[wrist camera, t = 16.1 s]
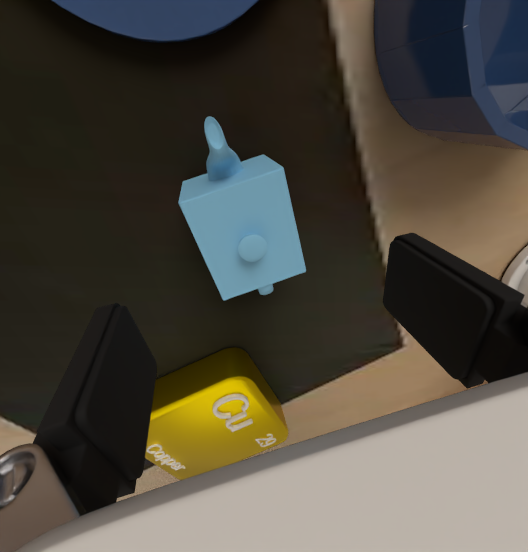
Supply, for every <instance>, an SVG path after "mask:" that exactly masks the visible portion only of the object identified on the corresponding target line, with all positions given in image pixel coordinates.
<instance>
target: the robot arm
mask: <svg viewBox="0 0 528 552" xmlns="http://www.w3.org/2000/svg"><path fill="white" fill-rule="evenodd" d="M383 303H384V306H385V308H386V309H387V310H388V311H389V312H390V314H391V315H392V316H393V317H394V318H395V319H396V320H397V321H398V322H399V323H400V324H401V325H402V326H403V327H404V328H405V329H406V330H407V331H408V332H409V333H410V334H411V335H412V336H413V337H414V338H415V339H416V340H417V341H418V343H419V344H420V345H421V346H422V347H423V348H424V349H425V350H426V351H427V352H428V353H429V354H430V355H431V356H432V357H433V358H434V359H435V360H436V361H437V362H438V363H439V364H440V365H441V366H442V367H443V368H444V369H445V370H446V372H447V373H448V374H449V375H450V376H452V377H453V378H454V379H458V380H459V381H460V382H461V383H462V384H463V385H464V386H465V387H466V388H470V387H473V386H476V385H479V384H483V382H484V380H486V381H487V382H488V384H485V385H482V386H479V387H475V388H472V389H469V390H466V391H462V392H459V393H456V394H453V395H449V396H446V397H443V398H440V399H436V400H433V401H430V402H427V403H423V404H420V405H417V406H414V407H410V408H407V409H404V410H401V411H398V412H394V413H391V414H388V415H385V416H382V417H378V418H375V419H372V420H369V421H366V422H362V423H359V424H356V425H353V426H350V427H346V428H343V429H340V430H337V431H334V432H331V433H327V434H324V435H321V436H318V437H315V438H312V439H308V440H305V441H302V442H299V443H296V444H292V445H289V446H286V447H283V448H280V449H277V450H274V451H271V452H267V453H264V454H261V455H258V456H255V457H252V458H249V459H246V460H242V461H239V462H236V463H233V464H230V465H227V466H224V467H221V468H217V469H214V470H211V471H208V472H205V473H202V474H199V475H196V476H192V477H189V478H186V479H183V480H180V481H177V482H174V483H172V484H169V485H166V486H163V487H160V488H157V489H154V490H151V491H148V492H145V493H142V494H139V495H136V496H133V497H130V498H127V499H124V500H121V501H118V502H116V500H117V498H119V497H122V496H125V495H128V494H132V493H134V492H135V486H136V479H137V478H140V477H141V475H142V473H143V468H144V461H145V453H146V446H147V439H148V432H149V425H150V417H151V410H152V403H153V396H154V389H155V381H156V374H157V364H156V361H155V359H154V357H153V355H152V353H151V351H150V350H149V348H148V346H147V344H146V342H145V340H144V338H143V337H142V335H141V333H140V331H139V329H138V327H137V325H136V324H135V322H134V320H133V318H132V316H131V314H130V312H129V311H128V309H127V307H125V306H120V305H119V304H117V303H115V304H111V305H107V306H102V307H99V308H97V309H96V310H95V312H94V315H93V317H92V319H91V321H90V323H89V325H88V327H87V329H86V331H85V333H84V335H83V337H82V339H81V341H80V343H79V345H78V347H77V349H76V352H75V354H74V356H73V358H72V360H71V362H70V364H69V366H68V368H67V370H66V372H65V374H64V376H63V378H62V380H61V382H60V384H59V386H58V389H57V391H56V393H55V395H54V397H53V399H52V401H51V403H50V405H49V407H48V409H47V411H46V413H45V415H44V417H43V419H42V421H41V424H40V426H39V428H38V430H37V432H38V433H37V435H36V437H35V439H34V442H33V444H30V443H29V444H24V445H20V446H17V447H15V448H13V449H11V450H8V451H7V452H5V453H4V454H2V455H1V456H0V552H528V245H527V246H526V247H525V248H524V249H523V250H522V251H521V252H520V253H519V254H518V255H517V256H516V258H515V259H514V260H513V261H512V263H511V264H510V266H509V267H508V269H507V270H506V272H505V274H504V276H503V278H502V280H501V281H499V280H497V279H495V278H494V277H492V276H490V275H488V274H487V273H485V272H483V271H481V270H479V269H478V268H476V267H474V266H472V265H470V264H469V263H467V262H465V261H463V260H462V259H460V258H458V257H456V256H454V255H453V254H451V253H449V252H447V251H445V250H444V249H442V248H440V247H438V246H437V245H435V244H433V243H431V242H429V241H428V240H426V239H424V238H422V237H420V236H419V235H417V234H415V233H408V234H404V235H400V236H397V237H395V238H394V240H393V241H392V242H391V244H390V248H389V256H388V264H387V272H386V280H385V288H384V296H383Z"/></svg>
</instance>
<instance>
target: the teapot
mask: <svg viewBox="0 0 528 552" xmlns="http://www.w3.org/2000/svg"><path fill="white" fill-rule="evenodd" d="M204 127H205V135H206V139H207V142H208V145H209V149H210V154H209V156H208V159H207V163H206V165H207V174H204V175H201V176H198V177H195V178H192V179H189V180H186V181H183V183H182V188H181V193H180V198H179V205H180V207H181V209H182V212H183V214H184V216H185V218H186V220H187V223H188V225H189V227H190V229H191V231H192V233H193V236H194V238H195V240H196V242H197V244H198V247H199V249H200V251H201V253H202V255H203V257H204V260H205V262H206V264H207V266H208V268H209V271H210V273H211V275H212V277H213V279H214V281H215V284H216V286H217V288H218V290H219V292H220V294H221V297H222V299H223V300H227V299H229V298H232V297H235V296H238V295H241V294H244V293H247V292H250V291H252V290H255V289H258V290H259V293H260V295H267V294H269V293H271V292H272V291H273V285H272V284H273V283H275V282H278V281H281V280H284V279H286V278H289V277H292V276H295V275H298V274H300V273H303V272H306V268H305V264H304V259H303V254H302V250H301V245H300V241H299V236H298V232H297V227H296V223H295V218H294V214H293V209H292V205H291V200H290V195H289V191H288V186H287V182H286V177H285V173H284V168H283V167H282V166H281V165H279V164H277V163H276V162H274V161H273V160H271V159H270V158H268V157H267V156H265V155H264V154H263V155H260V156H257V157H254V158H251V159H248V160H245V161H242V162H240V159H239V157H238V156H237V154H236V153H235V152H234V151H233V150H231V149H230V148H229V147H228V145H227V143H226V140H225V137H224V134H223V131H222V129H221V127H220V125H219V123H218V122H217V121H216V120H215V119H214V118H213V117H211V116H210V117H207V118H206V120H205V124H204Z"/></svg>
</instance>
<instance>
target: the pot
mask: <svg viewBox="0 0 528 552" xmlns="http://www.w3.org/2000/svg"><path fill="white" fill-rule="evenodd" d="M374 37H375V49H376V57H377V62H378V67H379V72H380V76H381V79H382V82H383V85H384V88H385V90H386V93H387V95H388V97H389V99H390V101H391V103H392V104H393V106H394V107H395V109H396V110H397V112H398V113H399V115H400V116H401V117H402V118H403V119H404V120H405V121H406V122H407V123H408V124H409V125H411V126H412V127H414V128H415V129H416V130H418V131H420V132H422V133H424V134H426V135H429V136H433V137H436V138H439V139H441V140H445V141H453V142H461V143H469V144H478V145H486V146H494V147H502V148H511V149H519V150H527V151H528V0H375V8H374Z"/></svg>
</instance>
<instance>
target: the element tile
mask: <svg viewBox="0 0 528 552" xmlns="http://www.w3.org/2000/svg"><path fill="white" fill-rule="evenodd" d="M287 437H288V428H287V424H286V421H285V417H284V414H283V410H282V407H281V404H280V402H279V400H278V399H277V397H276V396H275V394H274V393H273V391H272V390H271V388H270V386H269V385H268V383H267V382H266V380H265V379H264V377H263V376H262V374H261V373H260V371H259V370H258V368H257V367H256V365H255V364H254V362H253V361H252V359H251V358H250V356H249V355H248V354H247V353H246V352H245V351H244V350H242V349H241V348H235V347H233V348H226V349H223V350H221V351H219V352H216V353H214V354H212V355H210V356H208V357H205V358H203V359H201V360H199V361H196V362H194V363H192V364H190V365H188V366H185V367H183V368H181V369H179V370H176V371H174V372H172V373H170V374H168V375H165V376H163V377H161V378H159V379H156V381H155V389H154V396H153V403H152V410H151V417H150V425H149V432H148V439H147V446H146V453H145V458H146V459H148V460H149V461H151V462H152V463H154V464H156V465H157V466H159V467H160V468H162V469H163V470H165V471H166V472H168V473H169V474H171V475H173V476H174V477H176V478H177V479H179V480H183V479H186V478H189V477H192V476H196V475H199V474H202V473H205V472H208V471H211V470H214V469H217V468H221V467H224V466H227V465H230V464H233V463H236V462H239V461H241V460H243V459H246V458H248V457H250V456H253V455H255V454H257V453H260V452H262V451H264V450H266V449H269V448H271V447H273V446H276V445H278V444H280V443H282V442H284V441H285V440H286V439H287Z"/></svg>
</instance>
